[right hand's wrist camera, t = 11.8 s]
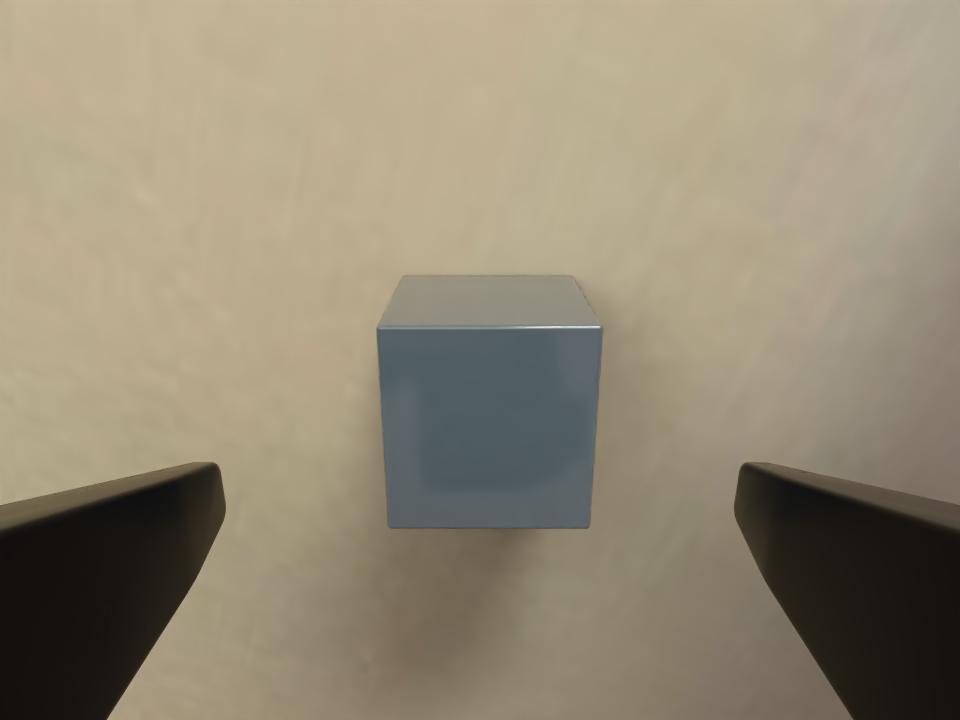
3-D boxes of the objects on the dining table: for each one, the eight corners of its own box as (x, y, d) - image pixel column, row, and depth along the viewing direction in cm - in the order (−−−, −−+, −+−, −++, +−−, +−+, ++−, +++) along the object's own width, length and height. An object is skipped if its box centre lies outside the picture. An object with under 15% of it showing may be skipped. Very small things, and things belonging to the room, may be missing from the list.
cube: (408, 436, 18) (387, 530, 14) (401, 274, 16) (375, 326, 12) (565, 437, 18) (590, 530, 14) (573, 274, 16) (604, 325, 12)
